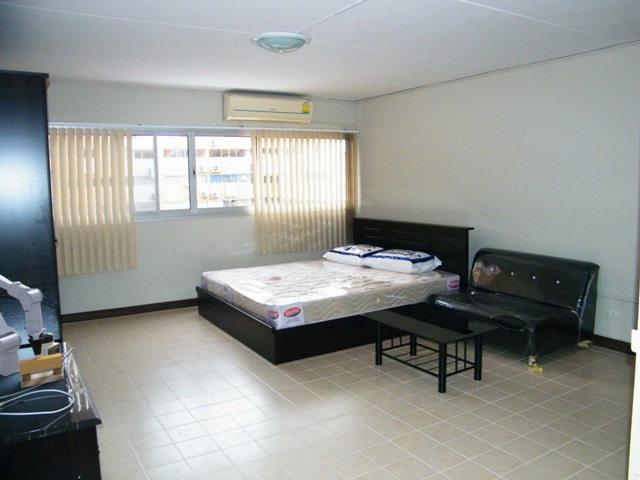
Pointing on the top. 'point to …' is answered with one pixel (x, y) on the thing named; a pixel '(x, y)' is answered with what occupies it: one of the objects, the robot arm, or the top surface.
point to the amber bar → (40, 363)
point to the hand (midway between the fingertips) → (37, 352)
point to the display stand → (42, 377)
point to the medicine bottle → (49, 345)
